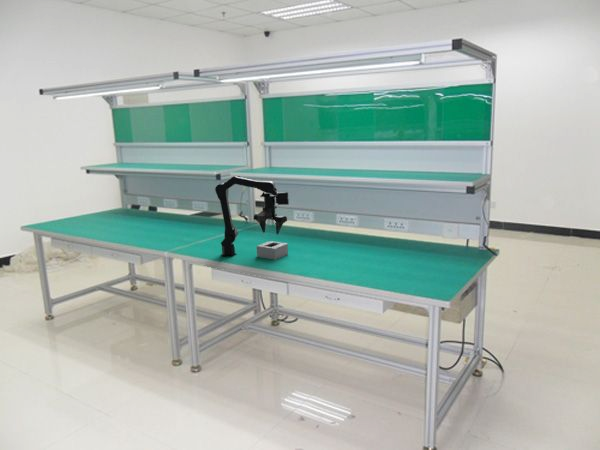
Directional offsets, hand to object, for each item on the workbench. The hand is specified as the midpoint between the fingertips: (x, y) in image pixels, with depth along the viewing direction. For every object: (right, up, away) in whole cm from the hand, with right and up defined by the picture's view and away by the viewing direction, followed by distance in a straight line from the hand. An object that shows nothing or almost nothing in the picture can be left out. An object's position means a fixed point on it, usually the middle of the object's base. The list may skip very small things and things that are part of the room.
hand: (270, 233), depth 249 cm
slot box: (+1, -12, +1) cm, 12 cm away
